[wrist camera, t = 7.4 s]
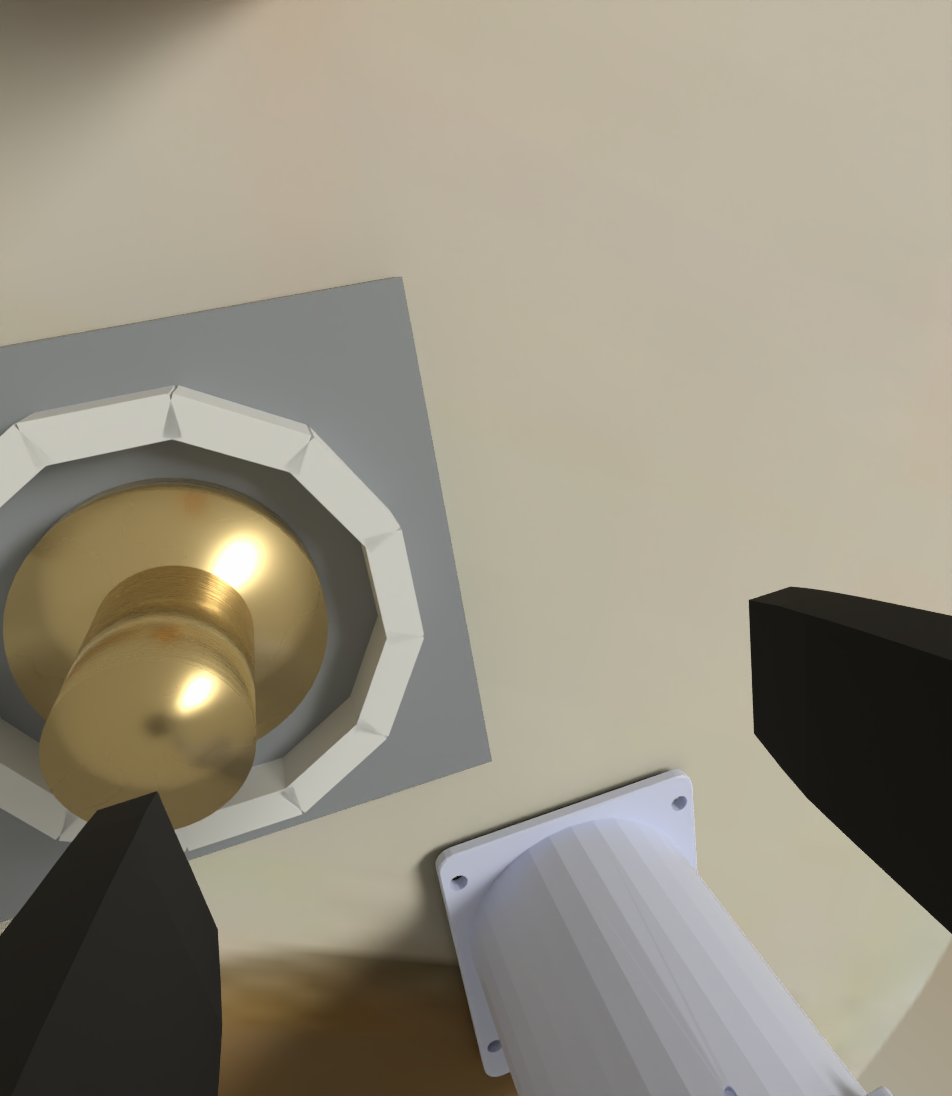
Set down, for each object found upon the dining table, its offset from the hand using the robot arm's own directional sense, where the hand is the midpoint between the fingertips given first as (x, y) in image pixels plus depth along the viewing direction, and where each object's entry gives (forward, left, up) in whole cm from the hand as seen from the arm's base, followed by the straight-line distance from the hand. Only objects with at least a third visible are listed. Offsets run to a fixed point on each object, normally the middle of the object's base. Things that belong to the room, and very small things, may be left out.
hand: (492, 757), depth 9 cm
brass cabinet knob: (-1, +4, -8) cm, 10 cm away
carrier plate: (-1, +4, -9) cm, 10 cm away
